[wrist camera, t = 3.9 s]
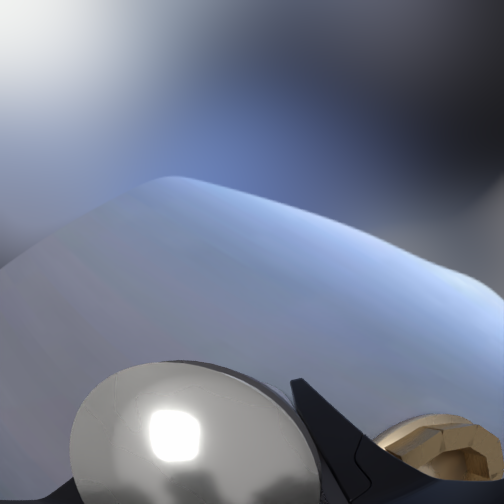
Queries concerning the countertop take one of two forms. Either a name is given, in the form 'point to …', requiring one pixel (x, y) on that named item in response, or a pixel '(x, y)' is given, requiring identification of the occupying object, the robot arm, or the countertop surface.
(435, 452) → the ring collar
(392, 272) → the countertop surface
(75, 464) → the cylinder
